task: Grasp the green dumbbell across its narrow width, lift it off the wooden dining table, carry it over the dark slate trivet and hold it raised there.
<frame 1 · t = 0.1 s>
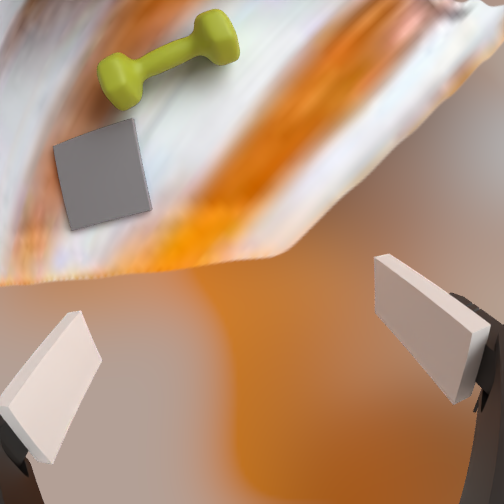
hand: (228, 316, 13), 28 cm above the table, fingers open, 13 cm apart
trivet: (100, 175, 37), on the table
dumbbell: (172, 65, 34), on the table
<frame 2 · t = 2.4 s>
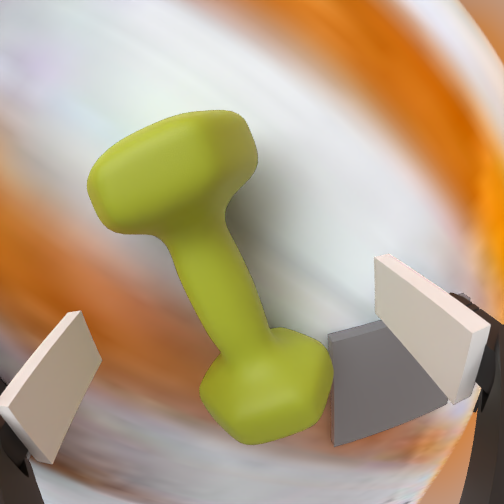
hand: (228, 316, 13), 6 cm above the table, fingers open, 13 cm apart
trivet: (398, 374, 22), on the table
dumbbell: (222, 266, 19), on the table
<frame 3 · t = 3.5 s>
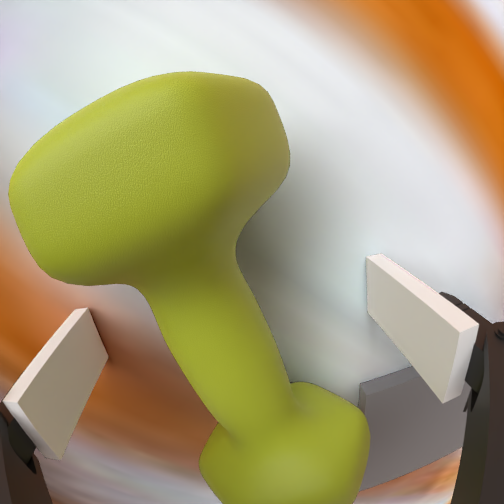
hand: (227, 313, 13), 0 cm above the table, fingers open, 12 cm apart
trivet: (431, 416, 17), on the table
dumbbell: (228, 307, 13), on the table
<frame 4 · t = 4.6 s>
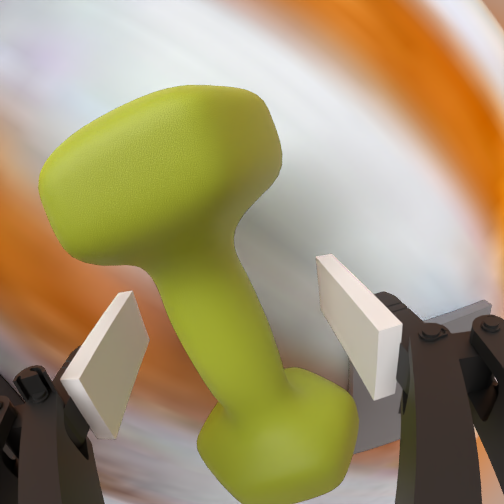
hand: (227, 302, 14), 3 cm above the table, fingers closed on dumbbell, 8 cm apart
trivet: (417, 382, 21), on the table
dumbbell: (226, 294, 15), point 3 cm above the table, touching gripper
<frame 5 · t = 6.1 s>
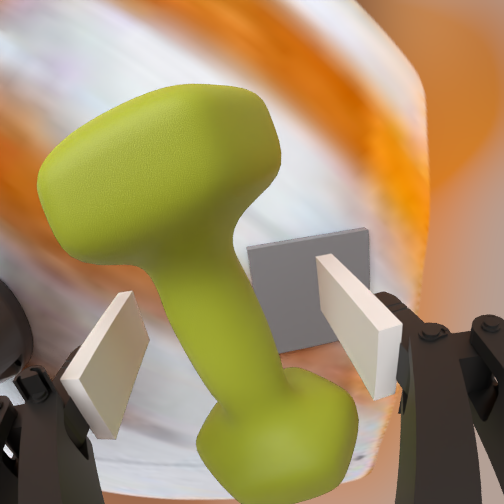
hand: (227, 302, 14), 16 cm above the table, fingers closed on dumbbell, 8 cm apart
trivet: (313, 292, 32), on the table
dumbbell: (226, 294, 15), point 15 cm above the table, touching gripper
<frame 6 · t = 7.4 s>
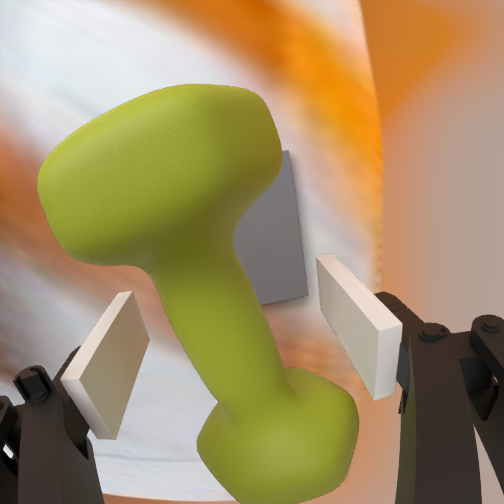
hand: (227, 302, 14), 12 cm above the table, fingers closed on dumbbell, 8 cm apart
trivet: (223, 237, 25), on the table
dumbbell: (226, 295, 15), point 11 cm above the table, touching gripper
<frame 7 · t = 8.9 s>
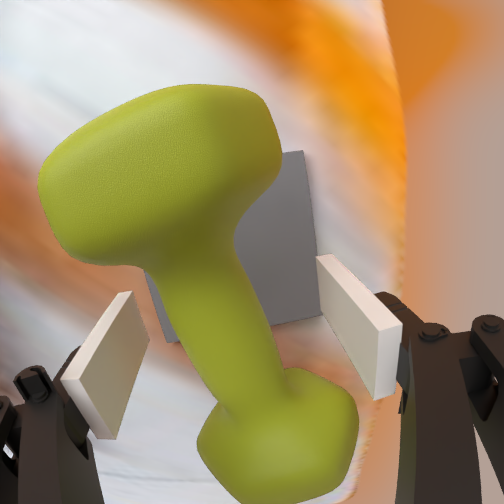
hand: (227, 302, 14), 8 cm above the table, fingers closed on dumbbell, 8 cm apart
trivet: (228, 250, 22), on the table
dumbbell: (226, 295, 15), point 8 cm above the table, touching gripper
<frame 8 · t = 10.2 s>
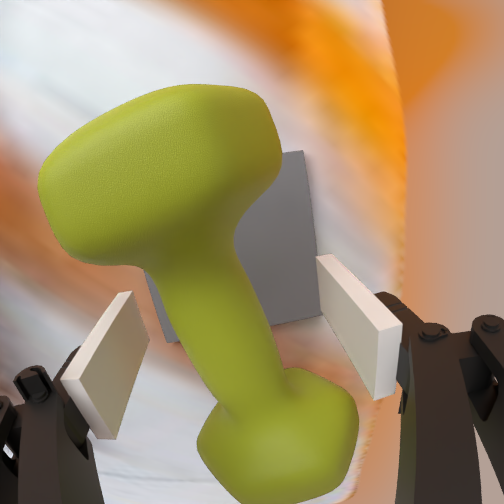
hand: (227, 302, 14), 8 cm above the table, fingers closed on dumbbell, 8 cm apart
trivet: (228, 250, 22), on the table
dumbbell: (226, 294, 15), point 8 cm above the table, touching gripper
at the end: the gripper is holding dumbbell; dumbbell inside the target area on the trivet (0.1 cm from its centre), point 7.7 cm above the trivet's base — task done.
